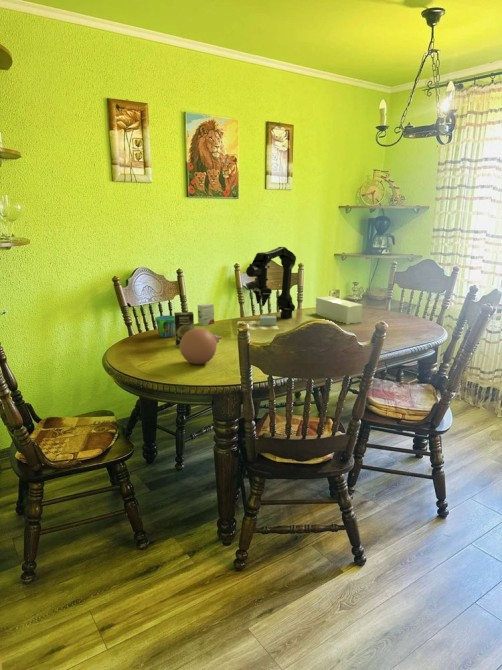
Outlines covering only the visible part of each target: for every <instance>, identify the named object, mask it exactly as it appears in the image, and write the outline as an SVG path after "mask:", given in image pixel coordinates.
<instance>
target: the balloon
mask: <svg viewBox="0 0 502 670" xmlns="http://www.w3.org/2000/svg"><path fill="white" fill-rule="evenodd" d="M222 339H223V336H220V335H217V334H216V333H214V334H212V333H211V332H210V331H208V329H204V328H201V327H197V328H195V327H194V329H191V330H189V331H188V332H186V333H185V334H184V336H183V337H182V339H181V342H180V347H179V349H180V354H181V356H182V357H183V358H184V360H186V361H187V362H189V363H190V364H193V365H203V364H206V363H208V362H210V361H211V360H212V359H213V357H214V356H215V354H216V352H217V345H218V343H220V340H222Z"/></svg>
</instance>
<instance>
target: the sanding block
mask: <svg viewBox="0 0 502 670" xmlns="http://www.w3.org/2000/svg"><path fill="white" fill-rule="evenodd" d="M276 316H277V315H259V321H260V326H276V324H277V320H278V319H277V317H276Z"/></svg>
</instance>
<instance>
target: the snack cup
mask: <svg viewBox="0 0 502 670" xmlns="http://www.w3.org/2000/svg"><path fill="white" fill-rule="evenodd" d="M154 320H155V322H156V323H155V324H156V327H157V331H158V336H159V338H164V339H165V338H172V337H173V336H174V335H175V317H174V315H169V314H167V315H159V316H158V315H157V316H156V317H155V319H154Z"/></svg>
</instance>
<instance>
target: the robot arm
mask: <svg viewBox="0 0 502 670" xmlns="http://www.w3.org/2000/svg"><path fill="white" fill-rule="evenodd" d="M277 257H278V258H279V259H280V264H281V267H282V280H281V281H282V282H281V293H280V294H279V295H278V296H277V301H276V303H277V308H278V310H279V311H280V312H279V314H280V315H279V318H280V319H285V320H289V319H293V312H294V311H295V309H296V306H295V304H294V303H293V297H292V295H291V285H292V272H293V268H294V267H295V265H296V261H297V256H296V255H295V254H294V253H293V252H292V251H291V250H289V249H288V248H287V247H286V246H278V247H277V248H274V249H271V250H268V251H265V252H257V253H256V254H255V256H254V258H253V260H252V263H249V266H247V267H246V270H245V273H246V275H247V276H248V277H249V278H253V277H254V280H252V281H250V282H246V283H245V286H246V290H248V291H252V293H253V294H254V296H255V301H256V304H259V305H260V302H261V306H262V307H265V305H266V303H267V302H268V301H267V300H268V299H269V297H270V296H271V294H272V288H271V287H269V286H268V283H267V282H268V281H269V279H268V269H270V265H269V263H271V262H272V260H273V259H275V258H277Z"/></svg>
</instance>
